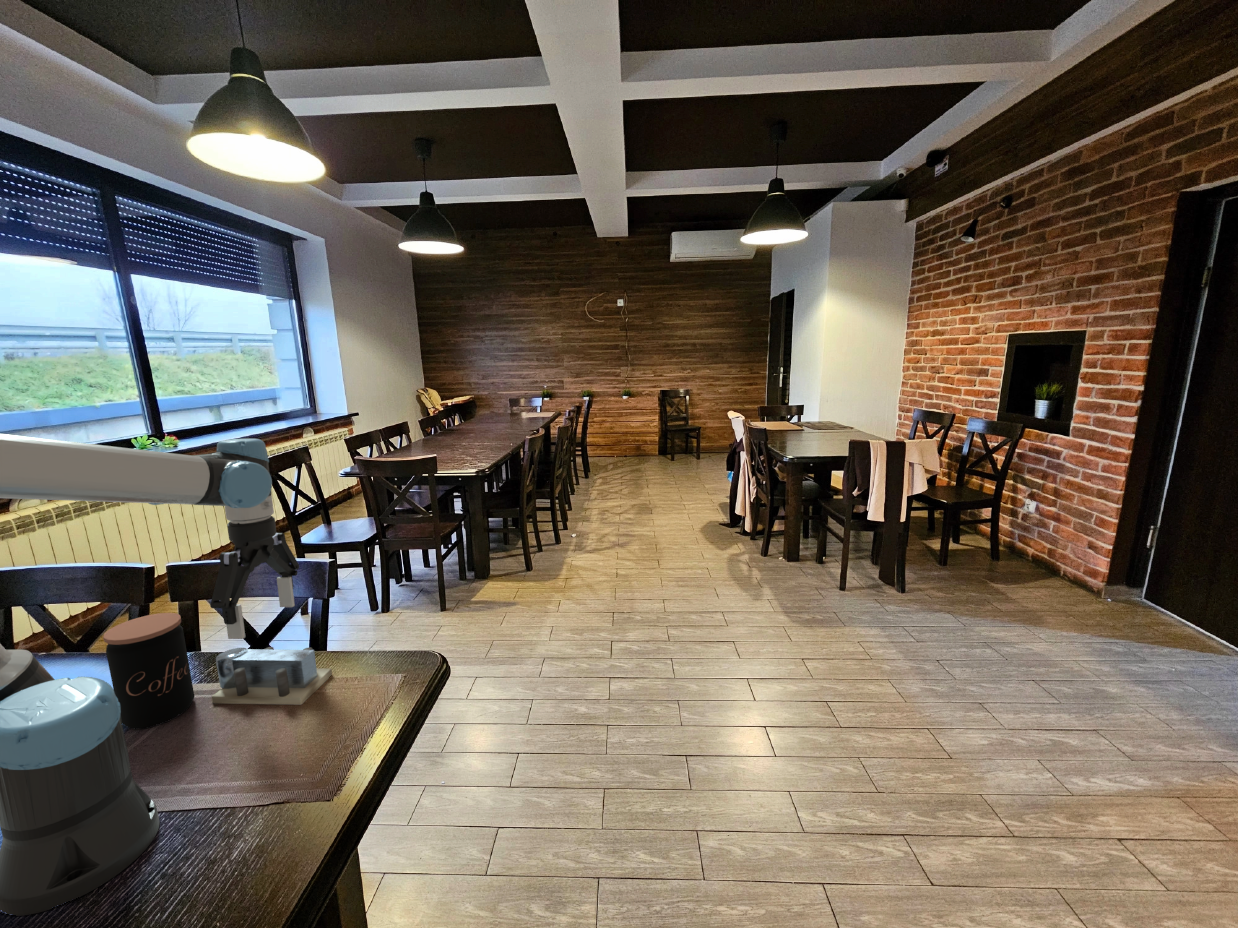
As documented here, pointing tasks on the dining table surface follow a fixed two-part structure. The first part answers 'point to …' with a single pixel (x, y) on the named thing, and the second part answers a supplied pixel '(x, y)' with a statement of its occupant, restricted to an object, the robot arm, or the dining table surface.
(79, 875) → the robot arm
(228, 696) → the peg rack
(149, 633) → the coffee jar
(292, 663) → the bevelled metal block
